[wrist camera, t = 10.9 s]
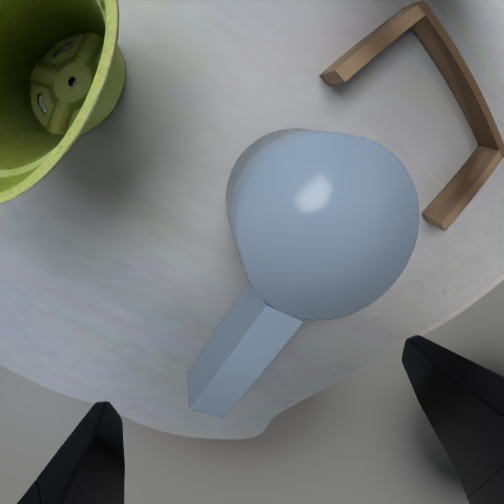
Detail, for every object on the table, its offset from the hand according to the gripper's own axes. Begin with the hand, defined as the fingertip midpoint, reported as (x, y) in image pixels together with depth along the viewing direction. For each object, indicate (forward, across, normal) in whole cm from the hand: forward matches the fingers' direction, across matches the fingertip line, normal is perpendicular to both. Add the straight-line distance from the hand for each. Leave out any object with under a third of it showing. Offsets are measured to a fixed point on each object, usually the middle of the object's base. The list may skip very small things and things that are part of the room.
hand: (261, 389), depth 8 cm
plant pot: (+12, +7, -11) cm, 17 cm away
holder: (+12, -14, -6) cm, 19 cm away
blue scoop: (+11, -2, +1) cm, 12 cm away
